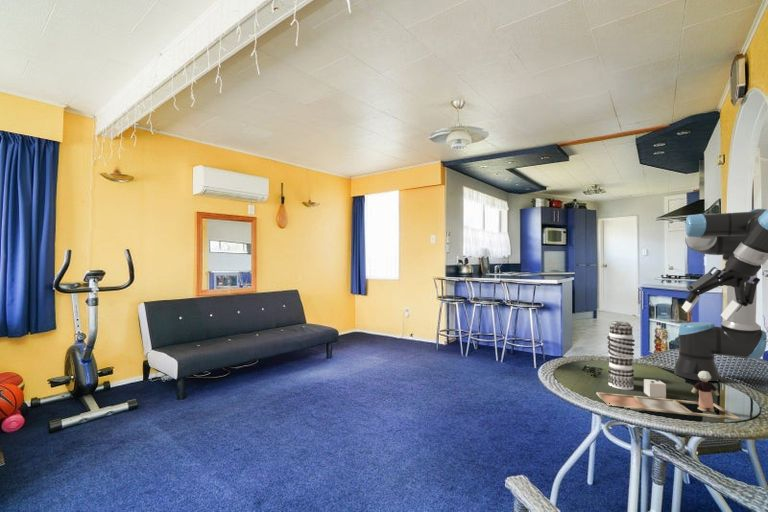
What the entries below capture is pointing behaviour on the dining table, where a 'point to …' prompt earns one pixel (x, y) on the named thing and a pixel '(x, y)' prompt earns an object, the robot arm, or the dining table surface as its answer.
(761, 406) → the dining table surface
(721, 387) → the dining table surface
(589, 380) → the dining table surface
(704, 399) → the grandmother figurine
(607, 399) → the wooden flat rectangular frame
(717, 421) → the dining table surface
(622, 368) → the decorative candle
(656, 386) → the ivory die
